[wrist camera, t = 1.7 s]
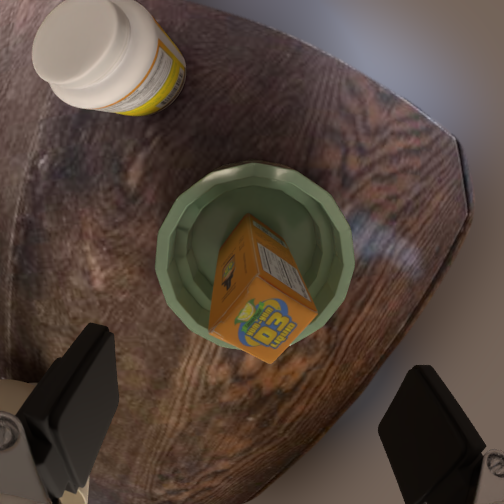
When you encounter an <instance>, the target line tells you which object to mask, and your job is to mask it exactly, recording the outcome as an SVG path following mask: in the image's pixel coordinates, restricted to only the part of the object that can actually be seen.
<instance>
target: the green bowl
mask: <svg viewBox="0 0 504 504" xmlns="http://www.w3.org/2000/svg"><path fill="white" fill-rule="evenodd" d="M247 213H249V214H251V215H252V216H254V217H255V218H257V219H258V220H259V221H261V222H262V223H264V224H265V225H266V226H268V227H269V228H270V229H272V230H273V231H274V232H276V233H277V234H278V235H279V236H281V237H282V238H283V239H284V240H285V242H286V244H287V246H288V248H289V250H290V252H291V254H292V256H293V258H294V260H295V263H296V265H297V267H298V269H299V271H300V274H301V276H302V278H303V280H304V282H305V285H306V287H307V289H308V291H309V293H310V295H311V297H312V300H313V302H314V304H315V306H316V309H317V311H318V315H317V316H316V317H315V318H314V319H313V320H312V321H311V322H310V323H309V324H308V325H307V327H306V328H305V329H304V330H303V331H302V332H301V333H300V334H299V335H298V336H297V337H296V339H295V340H294V341H293V342H292V343H291V344H290V345H292V344H294V343H296V342H298V341H299V340H301V339H303V338H305V337H306V336H308V335H310V334H311V333H313V332H315V331H316V330H318V329H320V328H321V327H323V326H324V324H325V323H326V322H327V321H328V320H329V318H330V317H331V316H332V315H333V313H334V312H335V311H336V310H337V308H338V307H339V306H340V305H341V303H342V302H343V301H344V299H345V297H346V294H347V290H348V287H349V284H350V280H351V277H352V274H353V270H354V267H355V258H354V249H353V241H352V233H351V228H350V225H349V224H348V222H347V220H346V219H345V217H344V215H343V213H342V212H341V210H340V209H339V207H338V205H337V204H336V202H335V200H334V199H333V197H332V195H330V193H329V192H327V191H326V190H324V189H323V188H321V187H320V186H319V185H317V184H316V183H314V182H313V181H311V180H310V179H308V178H307V177H305V176H304V175H302V174H301V173H299V172H298V171H296V170H294V169H293V168H291V167H289V166H287V165H283V164H278V163H273V162H267V161H262V160H256V159H249V160H245V161H240V162H236V163H231V164H227V165H223V166H219V167H217V168H215V169H214V170H213V171H211V172H210V173H209V174H207V175H206V176H204V177H203V178H202V179H200V180H199V181H198V182H196V183H195V184H194V185H192V186H191V187H190V188H188V189H187V190H186V191H185V192H183V193H182V194H181V195H180V196H178V198H177V199H176V200H175V202H174V204H173V206H172V207H171V209H170V211H169V213H168V215H167V216H166V218H165V220H164V222H163V224H162V226H161V227H160V229H159V232H158V236H157V248H156V261H155V271H156V274H157V277H158V280H159V283H160V286H161V288H162V291H163V294H164V297H165V300H166V302H167V303H168V306H169V307H170V308H171V309H172V310H173V311H174V313H175V314H176V315H177V316H178V317H179V318H180V319H181V320H182V321H183V323H184V324H185V325H186V326H187V327H188V328H189V329H190V330H191V331H192V332H194V333H196V334H198V335H200V336H202V337H203V338H205V339H207V340H209V341H211V342H213V343H215V344H217V345H219V346H221V347H226V348H233V349H239V348H237V347H236V346H233V345H231V344H229V343H227V342H224V341H222V340H220V339H218V338H215V337H214V336H211V335H209V333H208V326H209V316H210V308H211V301H212V293H213V286H214V279H215V272H216V266H217V260H218V254H219V249H220V248H221V246H222V245H223V243H224V242H225V241H226V239H227V238H228V237H229V235H230V234H231V232H232V231H233V230H234V228H235V227H236V226H237V225H238V223H239V222H240V221H241V219H242V218H243V217H244V215H245V214H247ZM240 350H241V349H240Z"/></svg>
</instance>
